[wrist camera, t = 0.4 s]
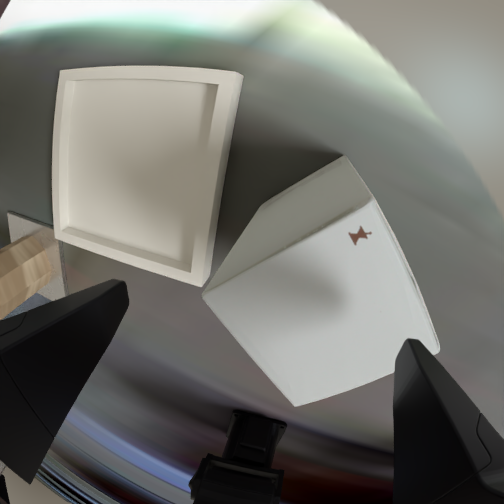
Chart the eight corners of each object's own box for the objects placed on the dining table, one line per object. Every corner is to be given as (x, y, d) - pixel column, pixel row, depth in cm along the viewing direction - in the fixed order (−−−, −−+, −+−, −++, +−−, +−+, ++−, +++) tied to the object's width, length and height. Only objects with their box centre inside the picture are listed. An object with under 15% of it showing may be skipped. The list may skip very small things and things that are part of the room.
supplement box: (257, 203, 23) (191, 292, 11) (346, 152, 20) (379, 190, 9) (309, 282, 24) (291, 411, 13) (393, 240, 21) (446, 354, 10)
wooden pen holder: (56, 283, 31) (8, 322, 23) (30, 282, 32) (-15, 315, 24) (40, 234, 28) (-15, 267, 21) (15, 238, 30) (-35, 266, 22)
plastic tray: (209, 275, 26) (201, 287, 24) (67, 231, 28) (54, 238, 26) (243, 76, 19) (236, 71, 17) (75, 71, 21) (60, 70, 19)
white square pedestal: (70, 305, 32) (41, 331, 27) (21, 280, 33) (-7, 300, 28) (61, 229, 28) (23, 249, 23) (10, 211, 29) (-23, 227, 24)
